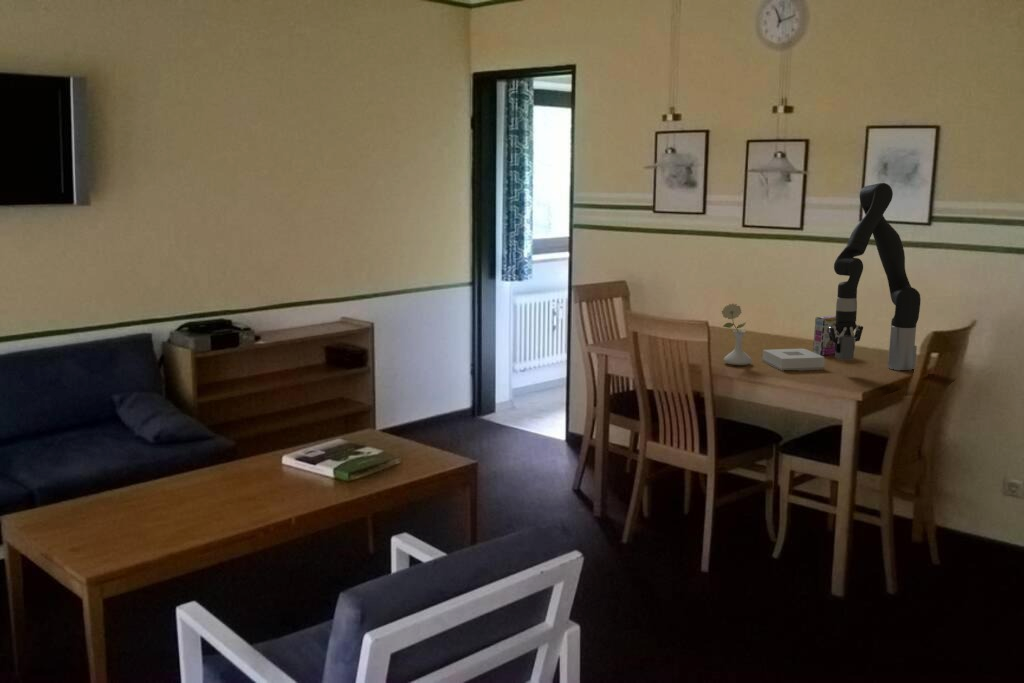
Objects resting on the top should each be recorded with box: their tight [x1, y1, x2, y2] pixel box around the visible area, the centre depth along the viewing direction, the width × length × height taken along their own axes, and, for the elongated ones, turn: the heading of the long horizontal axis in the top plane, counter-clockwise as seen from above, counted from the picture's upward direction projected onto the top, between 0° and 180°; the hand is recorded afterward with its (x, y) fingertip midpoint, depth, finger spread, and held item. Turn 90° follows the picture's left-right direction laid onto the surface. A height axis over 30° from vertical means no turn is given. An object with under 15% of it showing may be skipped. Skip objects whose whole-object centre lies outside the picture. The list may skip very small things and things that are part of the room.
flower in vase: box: [721, 303, 753, 366], centre depth 381 cm, size 13×11×25 cm
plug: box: [834, 335, 855, 361], centre depth 363 cm, size 5×5×9 cm
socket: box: [762, 348, 826, 372], centre depth 380 cm, size 18×18×5 cm
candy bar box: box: [812, 314, 837, 357], centre depth 401 cm, size 11×5×16 cm, turn 123°
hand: (844, 352), depth 364 cm, fingers closed on plug, 5 cm apart
